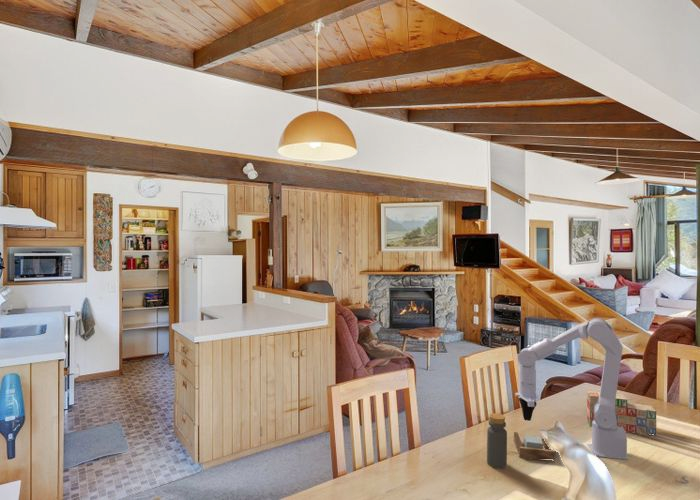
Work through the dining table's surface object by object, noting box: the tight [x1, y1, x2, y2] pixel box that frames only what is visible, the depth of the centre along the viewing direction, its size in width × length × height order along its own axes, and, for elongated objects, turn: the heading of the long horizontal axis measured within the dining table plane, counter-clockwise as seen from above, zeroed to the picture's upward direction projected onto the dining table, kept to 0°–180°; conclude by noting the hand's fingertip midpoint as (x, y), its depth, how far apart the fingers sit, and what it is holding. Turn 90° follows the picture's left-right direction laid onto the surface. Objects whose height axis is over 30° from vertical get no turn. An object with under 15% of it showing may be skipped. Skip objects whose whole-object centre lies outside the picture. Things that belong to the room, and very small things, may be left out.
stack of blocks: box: [586, 390, 657, 436], centre depth 158 cm, size 21×6×12 cm, turn 68°
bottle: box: [486, 412, 508, 470], centre depth 130 cm, size 6×6×15 cm
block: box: [523, 434, 544, 449], centre depth 139 cm, size 5×5×4 cm
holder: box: [513, 431, 556, 460], centre depth 139 cm, size 10×12×3 cm
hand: (527, 419), depth 151 cm, fingers closed
